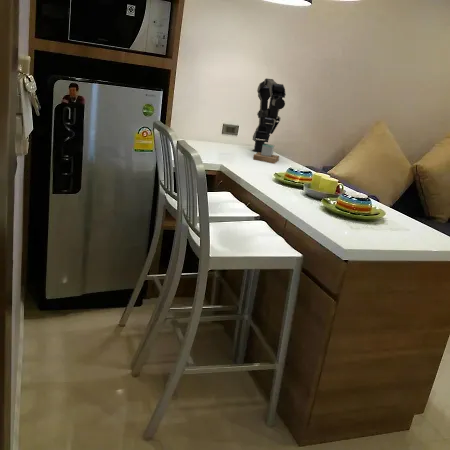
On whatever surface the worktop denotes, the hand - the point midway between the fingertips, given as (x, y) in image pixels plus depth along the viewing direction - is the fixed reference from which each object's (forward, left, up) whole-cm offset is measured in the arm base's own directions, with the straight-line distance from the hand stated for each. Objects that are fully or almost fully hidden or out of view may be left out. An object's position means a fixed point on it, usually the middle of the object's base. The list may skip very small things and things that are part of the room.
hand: (269, 134), depth 292 cm
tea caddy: (+9, +2, -10) cm, 14 cm away
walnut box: (+8, +2, -13) cm, 16 cm away
